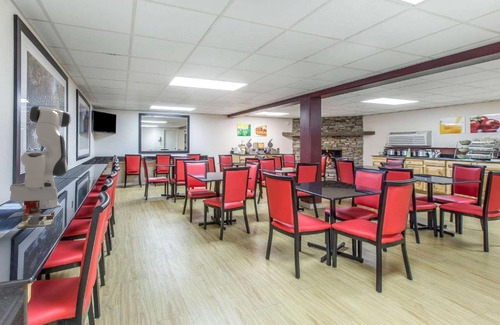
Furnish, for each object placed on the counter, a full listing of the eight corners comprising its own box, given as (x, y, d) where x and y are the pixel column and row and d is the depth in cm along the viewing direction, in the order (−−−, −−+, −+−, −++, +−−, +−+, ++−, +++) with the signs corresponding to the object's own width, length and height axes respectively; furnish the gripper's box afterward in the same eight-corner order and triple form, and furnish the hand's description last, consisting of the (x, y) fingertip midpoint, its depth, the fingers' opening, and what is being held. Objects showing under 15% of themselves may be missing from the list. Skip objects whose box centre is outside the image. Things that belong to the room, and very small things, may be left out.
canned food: (31, 216, 166) (31, 198, 166) (20, 215, 168) (20, 197, 167) (43, 213, 174) (43, 196, 173) (32, 212, 175) (32, 195, 175)
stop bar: (38, 224, 147) (38, 217, 147) (31, 225, 146) (31, 217, 145) (41, 220, 156) (41, 212, 156) (34, 220, 154) (34, 213, 154)
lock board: (26, 218, 162) (26, 212, 162) (55, 216, 170) (55, 210, 169) (17, 229, 142) (17, 222, 142) (50, 226, 149) (50, 219, 149)
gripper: (8, 184, 141) (8, 211, 142) (57, 183, 151) (56, 208, 152) (11, 182, 146) (11, 208, 147) (58, 182, 157) (57, 206, 158)
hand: (34, 208), depth 150 cm, fingers open, 8 cm apart
